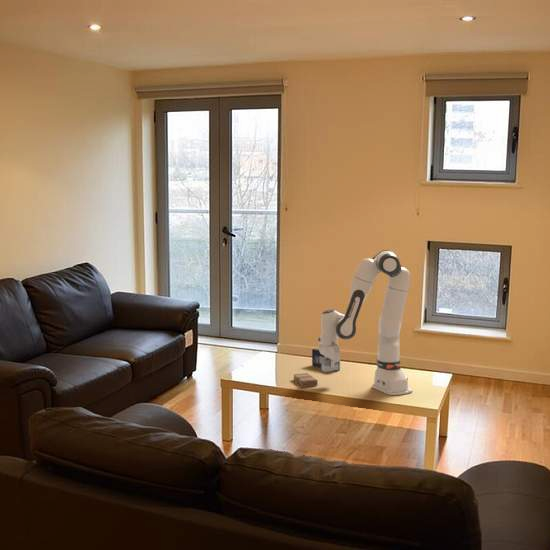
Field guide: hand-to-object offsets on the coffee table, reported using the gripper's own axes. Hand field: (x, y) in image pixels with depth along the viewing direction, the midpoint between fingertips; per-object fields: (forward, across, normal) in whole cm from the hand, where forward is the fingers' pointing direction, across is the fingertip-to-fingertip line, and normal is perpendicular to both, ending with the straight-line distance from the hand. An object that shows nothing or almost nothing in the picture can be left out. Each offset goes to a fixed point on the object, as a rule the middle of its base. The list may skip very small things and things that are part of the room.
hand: (330, 365), depth 359 cm
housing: (+2, 0, 0) cm, 2 cm away
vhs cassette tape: (+11, +30, -10) cm, 34 cm away
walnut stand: (+10, +8, +11) cm, 17 cm away
